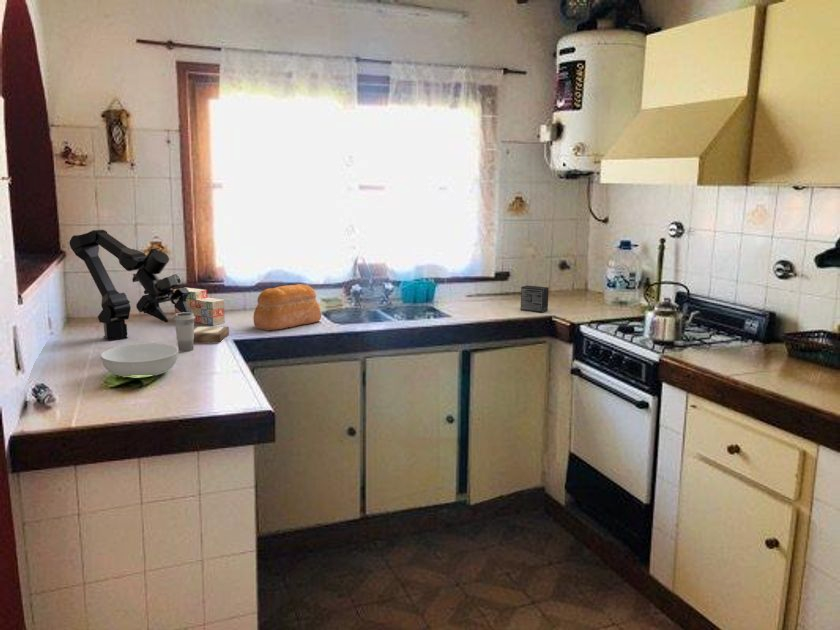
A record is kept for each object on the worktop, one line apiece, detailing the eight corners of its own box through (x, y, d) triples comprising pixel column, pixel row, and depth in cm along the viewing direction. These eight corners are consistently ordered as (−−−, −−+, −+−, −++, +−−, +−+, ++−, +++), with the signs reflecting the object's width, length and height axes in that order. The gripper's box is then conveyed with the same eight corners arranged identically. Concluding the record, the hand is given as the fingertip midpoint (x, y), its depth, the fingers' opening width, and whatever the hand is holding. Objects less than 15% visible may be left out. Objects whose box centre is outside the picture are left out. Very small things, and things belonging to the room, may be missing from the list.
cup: (175, 347, 232) (172, 312, 230) (196, 346, 234) (194, 311, 232) (175, 353, 226) (173, 316, 223) (197, 351, 228) (195, 315, 225)
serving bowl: (97, 387, 189) (95, 363, 188) (107, 367, 209) (106, 344, 208) (178, 382, 195) (176, 358, 194) (181, 362, 215) (179, 341, 213)
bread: (325, 322, 275) (324, 284, 272) (271, 332, 256) (270, 292, 253) (303, 317, 284) (302, 280, 281) (249, 327, 264) (247, 287, 261)
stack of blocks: (225, 323, 271) (223, 291, 269) (213, 326, 266) (211, 294, 263) (187, 317, 282) (185, 286, 279) (174, 319, 277) (172, 289, 274)
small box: (548, 310, 302) (549, 286, 300) (542, 313, 297) (543, 288, 295) (525, 308, 308) (526, 284, 306) (519, 310, 302) (520, 286, 300)
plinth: (185, 342, 239) (184, 333, 239) (195, 334, 251) (195, 325, 251) (220, 342, 240) (219, 333, 239) (229, 334, 251) (228, 326, 251)
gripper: (139, 270, 220) (167, 308, 217) (184, 264, 236) (210, 298, 234) (124, 293, 225) (151, 330, 222) (168, 285, 241) (194, 319, 239)
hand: (178, 318), depth 229 cm, fingers open, 9 cm apart
